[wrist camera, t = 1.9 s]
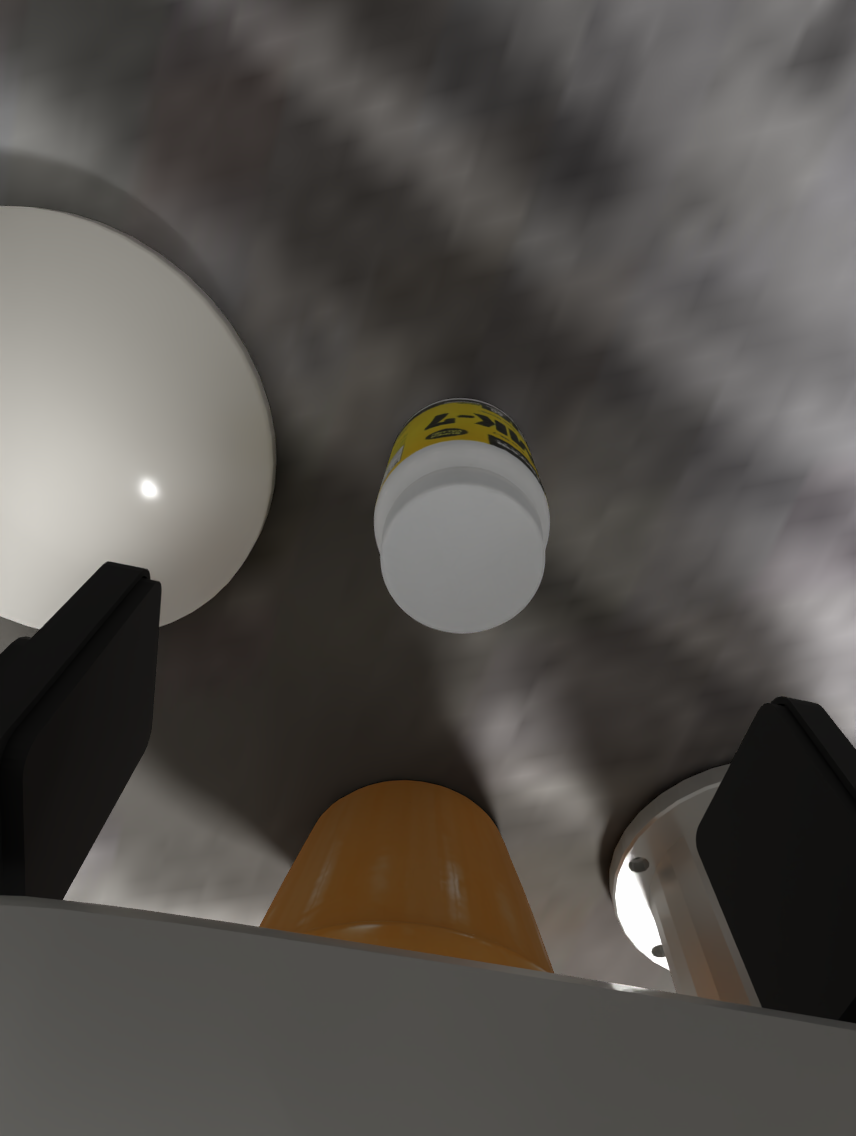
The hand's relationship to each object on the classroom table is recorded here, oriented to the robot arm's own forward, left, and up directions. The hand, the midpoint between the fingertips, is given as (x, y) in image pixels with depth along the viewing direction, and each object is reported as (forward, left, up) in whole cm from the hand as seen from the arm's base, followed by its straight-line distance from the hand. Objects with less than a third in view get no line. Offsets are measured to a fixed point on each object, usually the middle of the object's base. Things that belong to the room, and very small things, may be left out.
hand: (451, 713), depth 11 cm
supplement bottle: (0, 0, -15) cm, 15 cm away
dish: (+13, +2, -15) cm, 20 cm away
